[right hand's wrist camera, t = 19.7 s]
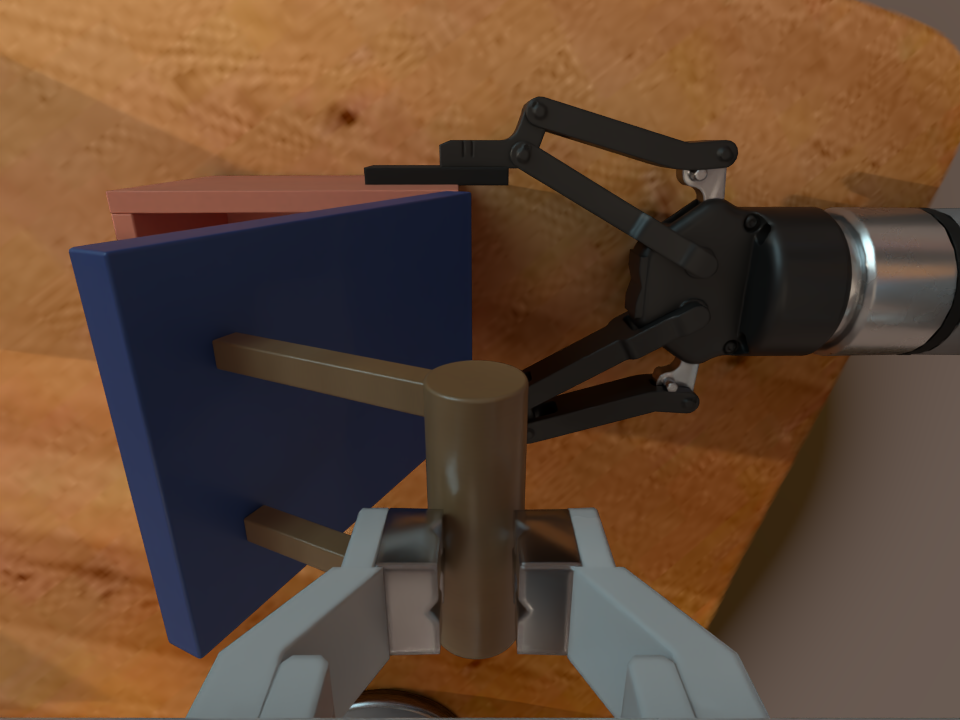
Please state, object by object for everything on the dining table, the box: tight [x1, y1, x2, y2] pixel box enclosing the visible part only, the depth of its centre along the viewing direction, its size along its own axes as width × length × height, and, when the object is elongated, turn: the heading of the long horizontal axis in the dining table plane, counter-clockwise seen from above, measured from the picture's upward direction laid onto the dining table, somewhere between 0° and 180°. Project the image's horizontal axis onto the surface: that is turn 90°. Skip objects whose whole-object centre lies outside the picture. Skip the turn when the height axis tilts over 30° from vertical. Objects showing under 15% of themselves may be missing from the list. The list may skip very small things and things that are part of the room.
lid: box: [69, 191, 529, 659], centre depth 17 cm, size 14×10×8 cm
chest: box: [106, 175, 459, 240], centre depth 30 cm, size 14×10×11 cm
